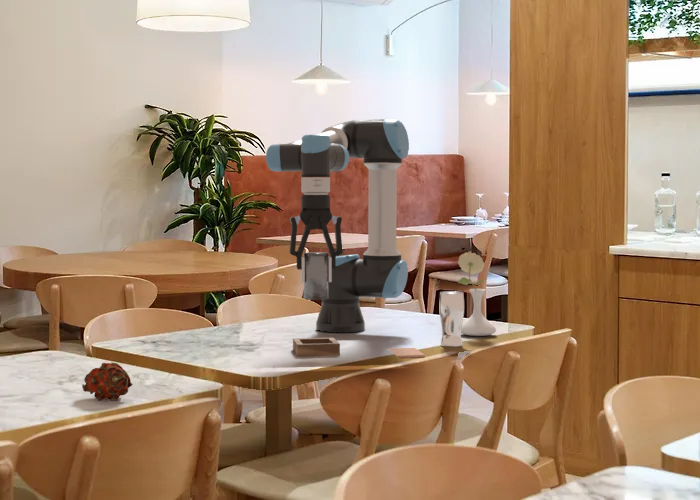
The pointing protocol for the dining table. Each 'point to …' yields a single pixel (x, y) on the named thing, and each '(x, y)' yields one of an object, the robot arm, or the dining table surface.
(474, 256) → the flower in vase
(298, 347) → the socket block
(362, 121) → the robot arm
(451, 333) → the beer glass
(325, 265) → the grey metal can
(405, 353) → the pad
